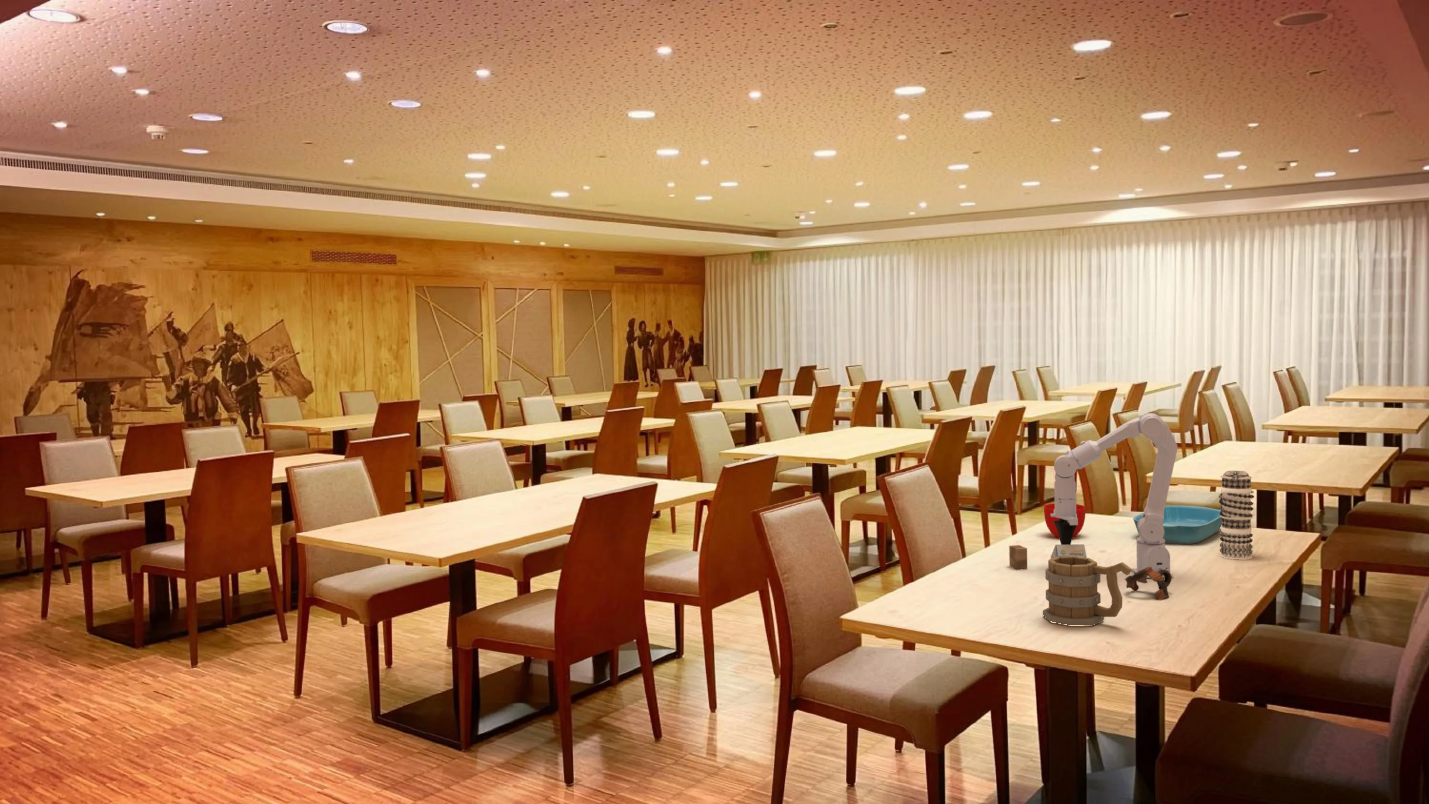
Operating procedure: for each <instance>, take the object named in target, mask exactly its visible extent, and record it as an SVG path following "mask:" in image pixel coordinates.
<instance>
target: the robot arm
mask: <svg viewBox="0 0 1429 804" xmlns="http://www.w3.org/2000/svg"><path fill="white" fill-rule="evenodd" d="M1141 434H1142V435H1143V437H1145V438H1147V440H1149V441H1151V442H1152V443H1153V445H1154V446H1155V447H1156V448H1157V453H1156V458H1155V462H1154V466H1153V471H1152V477H1151V482H1150V486H1149V489H1148V495H1147V500H1146V504H1145V507H1144V509H1143V512H1142V513H1143V515H1142V517H1141V518H1140V519H1139V521H1138V523H1137V528H1138V530H1139V533H1138V535H1139V534H1140V535H1139V537H1137V538H1136V567H1135V568H1131V569H1132V571H1131V572H1133V573H1134V574H1135V573H1137V572H1139V571H1141V570H1143V569H1145V568H1147V567H1152V569H1153V571H1156V572H1158V571H1160V570H1163V569H1164V570H1167V571H1169V573H1170V574H1171V554H1170V551H1169V550H1168V549H1167V548H1166V542H1165V539H1163V536H1164V528H1163V519H1164V508H1165V506H1166V505H1167V499H1168V494H1169V489H1170V484H1171V479H1172V475H1173V471H1174V466H1175V462H1176V457H1177V453H1178V444H1177V442H1176V439H1175V438H1174V435H1173V432H1172V431H1171V428H1170V427H1169V424H1167V423H1166V422H1165V421H1164V420H1163V419H1162V418H1161V417H1160V415H1158V414H1156V413H1155V412H1146V413H1143V414H1142V415H1141V416H1140V417H1139V416H1138V417H1135V418H1132V419H1131V420H1128V421H1126V422H1125V423H1123V424H1121V425H1120V426H1118V427H1117V428H1116V429H1113V430H1112V431H1111V432H1109V433H1107V434H1106V435H1104V436H1102V437H1101V438H1099V439H1098V440H1096V441H1094V440H1090V439H1088V440H1086V441H1085V440H1082V441H1081V442H1080V445H1078V446H1076V447H1075V448H1073V449H1071V450H1070V451H1069V450H1066V451H1065V455H1064V454H1063V455H1059V456H1058V457H1057V458H1056V459H1055V460H1054V462H1053V469H1054V472H1055V474H1054V483H1053V484H1054V486H1053V487H1054V489H1053V490H1054V491H1053V492H1054V503H1055V510H1054V513H1053V514H1051V517H1057V518H1059V520H1056V521H1054V524H1055V526H1056V528H1057V531H1058V534H1059V538H1058V539H1059V542H1060V545H1072V541H1073V538H1072V537H1073V533H1074V531H1075V529H1076V527H1077V525H1078V518H1077V514H1076V504H1077V489H1076V488H1077V485H1076V484H1077V482H1076V480H1075V479H1076V478H1075V477H1076V475H1075V473H1076V472H1077V470H1078V469H1079V470H1081V469H1084V468H1085V467H1087V466H1089V465H1090V464H1092V463H1093V462H1095V461H1098V460H1099V459H1101V458H1102V453H1103V451H1105V450H1107V449H1109V448H1111V447H1112V446H1115V445H1117V444H1118V443H1121V442H1122V441H1124V440H1126V439H1127V438H1141ZM1137 528H1136V529H1137ZM1174 576H1175V575H1174V574H1171V577H1172V578H1174ZM1162 577H1163V578H1165V577H1164V575H1162ZM1147 579H1151V577H1150V576H1148V575H1147Z"/></svg>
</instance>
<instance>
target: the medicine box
mask: <svg viewBox="0 0 1429 804" xmlns="http://www.w3.org/2000/svg"><path fill="white" fill-rule="evenodd" d="M1063 556H1073V557H1075V556H1077V557H1084V558H1088V557H1087V551H1086V546H1085V544H1079V543H1078V544H1071V545H1061V544H1055V545H1054V548H1053V550H1052V552H1051V555H1050V559H1052V558H1055V557H1063Z"/></svg>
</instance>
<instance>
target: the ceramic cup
mask: <svg viewBox="0 0 1429 804" xmlns="http://www.w3.org/2000/svg"><path fill="white" fill-rule="evenodd" d="M1054 510H1055V502H1053V503H1048V504H1044V505H1043V514H1044V515H1043V516H1044V521H1045V525H1046V526H1047V529H1048V531H1049V532H1050V533H1051V534H1052V535H1053V536H1055V538H1056V537H1058V538H1057V539H1060V538H1059V534H1058V531H1057V528H1056V526H1055V524H1054V521H1056V520H1059V518H1057V517H1051V514H1053V513H1054ZM1086 510H1087V509H1086V506H1085V505H1082V504H1078V503H1076V514H1077V518H1078V525H1077V527H1076V529H1075V531H1074V533H1073V537H1072V539H1075V538H1076V537H1077V536H1078V535H1079V533H1080V532H1082V529H1083V527H1084V525H1085V520H1086Z"/></svg>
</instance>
